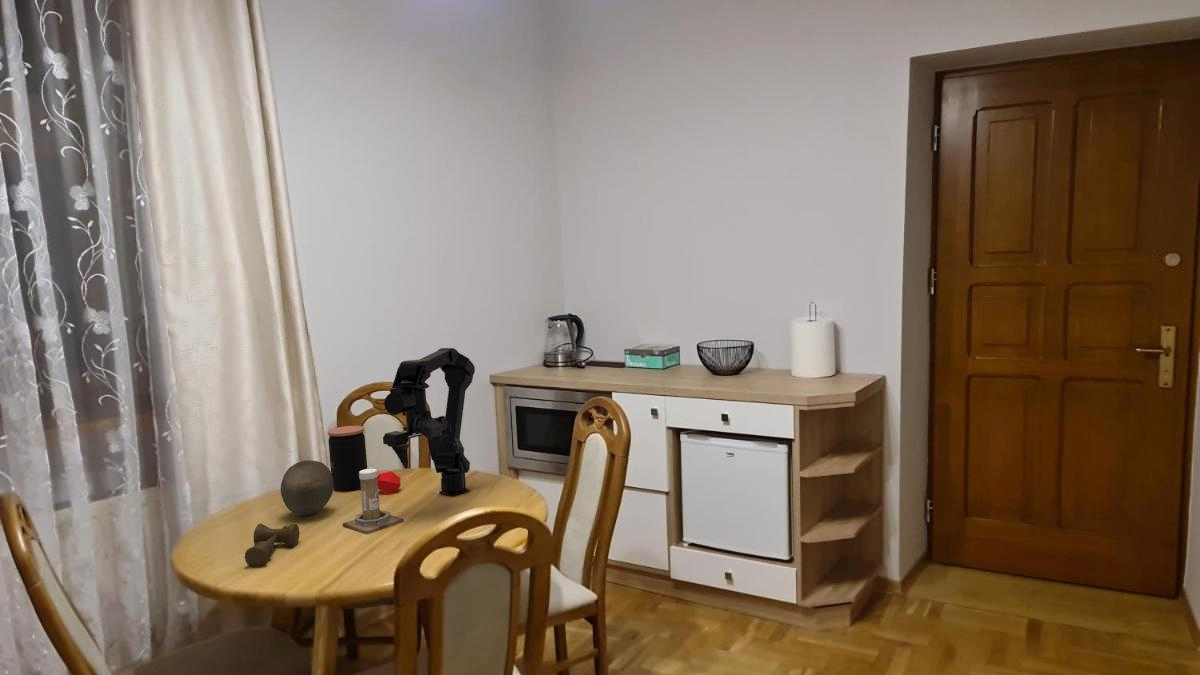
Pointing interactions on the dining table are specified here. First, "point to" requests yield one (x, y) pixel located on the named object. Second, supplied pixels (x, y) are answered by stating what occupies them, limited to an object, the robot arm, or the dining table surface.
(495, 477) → the dining table surface
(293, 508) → the dark grey ball
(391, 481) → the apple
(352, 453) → the coffee jar
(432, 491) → the dining table surface
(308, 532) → the dining table surface
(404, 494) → the dining table surface
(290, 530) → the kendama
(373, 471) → the sprinkles bottle
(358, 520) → the hub seat
